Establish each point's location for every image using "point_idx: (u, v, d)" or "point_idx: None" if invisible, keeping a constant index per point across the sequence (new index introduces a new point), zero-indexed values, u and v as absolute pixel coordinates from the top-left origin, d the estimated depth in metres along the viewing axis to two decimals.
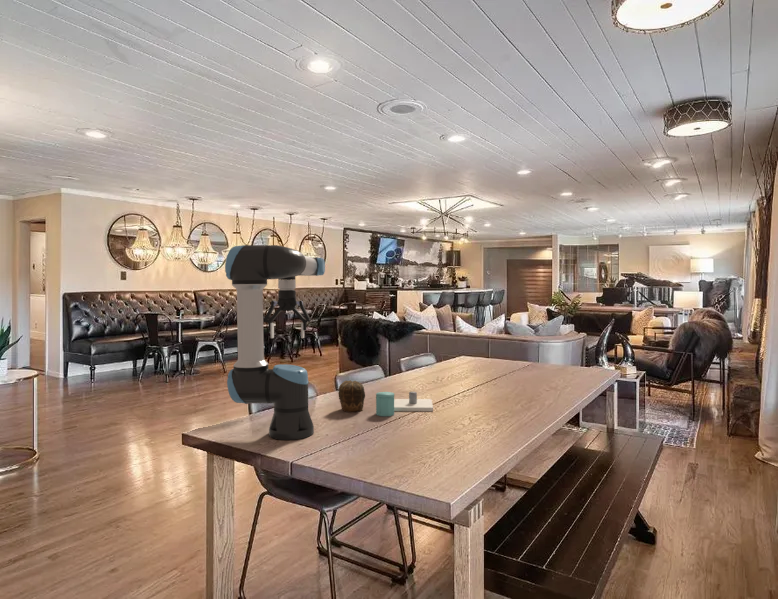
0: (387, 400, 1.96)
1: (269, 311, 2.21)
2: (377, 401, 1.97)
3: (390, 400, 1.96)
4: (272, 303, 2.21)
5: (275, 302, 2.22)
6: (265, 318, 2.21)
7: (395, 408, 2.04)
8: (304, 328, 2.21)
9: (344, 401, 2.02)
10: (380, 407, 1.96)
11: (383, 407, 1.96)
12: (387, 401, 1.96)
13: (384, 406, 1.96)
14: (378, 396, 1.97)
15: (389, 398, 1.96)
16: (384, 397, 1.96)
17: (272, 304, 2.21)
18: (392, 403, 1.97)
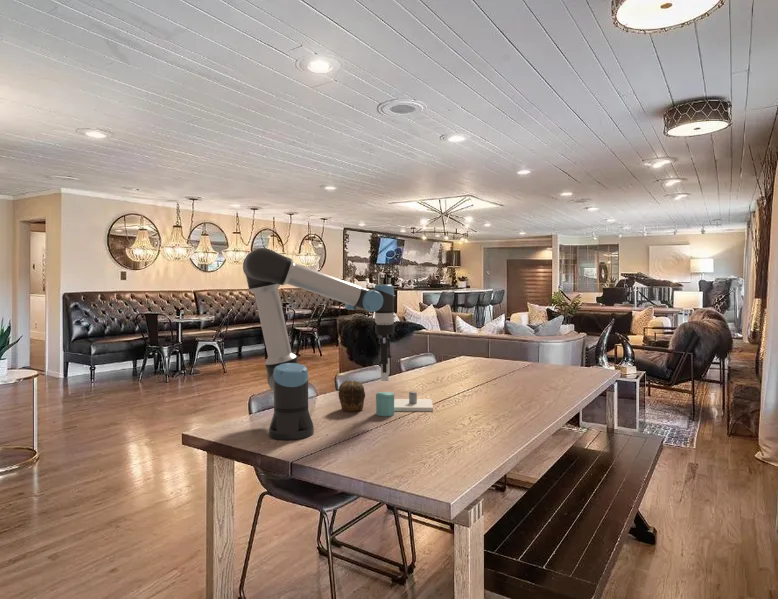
0: (387, 400, 1.96)
1: None
2: (377, 401, 1.97)
3: (390, 400, 1.96)
4: None
5: None
6: None
7: (395, 408, 2.04)
8: (382, 370, 1.91)
9: (344, 401, 2.02)
10: (380, 407, 1.96)
11: (383, 407, 1.96)
12: (387, 401, 1.96)
13: (384, 406, 1.96)
14: (378, 396, 1.97)
15: (389, 398, 1.96)
16: (384, 397, 1.96)
17: None
18: (392, 403, 1.97)
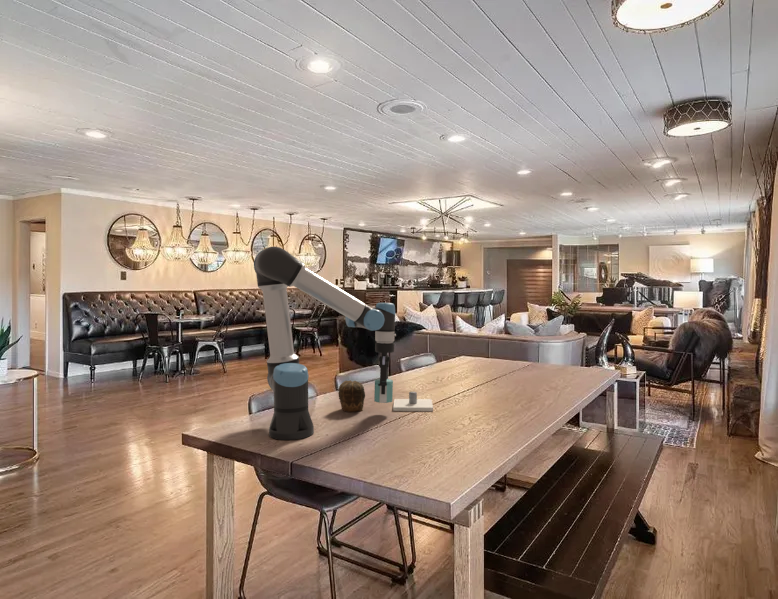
0: None
1: None
2: (375, 387, 1.97)
3: (388, 386, 1.96)
4: None
5: None
6: None
7: (395, 408, 2.04)
8: (381, 391, 1.94)
9: (344, 401, 2.02)
10: (378, 393, 1.96)
11: None
12: None
13: None
14: (377, 382, 1.96)
15: (388, 385, 1.96)
16: None
17: None
18: (390, 390, 1.97)
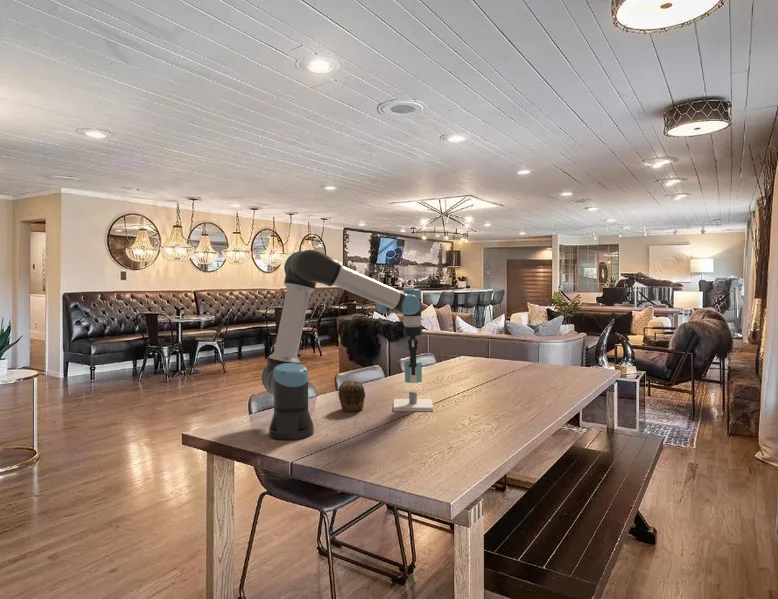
0: None
1: None
2: (406, 369, 2.09)
3: (418, 367, 2.07)
4: None
5: None
6: None
7: (395, 408, 2.04)
8: (411, 372, 2.06)
9: (344, 401, 2.02)
10: (409, 374, 2.07)
11: None
12: None
13: None
14: (407, 364, 2.08)
15: (417, 366, 2.07)
16: None
17: None
18: (420, 370, 2.08)
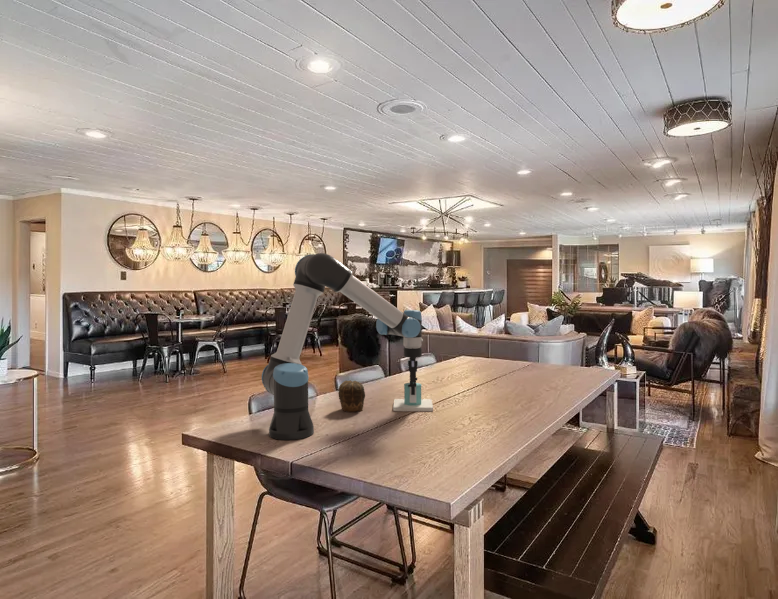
0: None
1: None
2: (405, 391, 2.08)
3: (417, 390, 2.07)
4: None
5: None
6: None
7: (395, 408, 2.04)
8: (411, 392, 2.04)
9: (344, 401, 2.02)
10: (408, 397, 2.07)
11: None
12: None
13: None
14: (406, 386, 2.08)
15: (417, 388, 2.07)
16: None
17: None
18: (419, 393, 2.08)
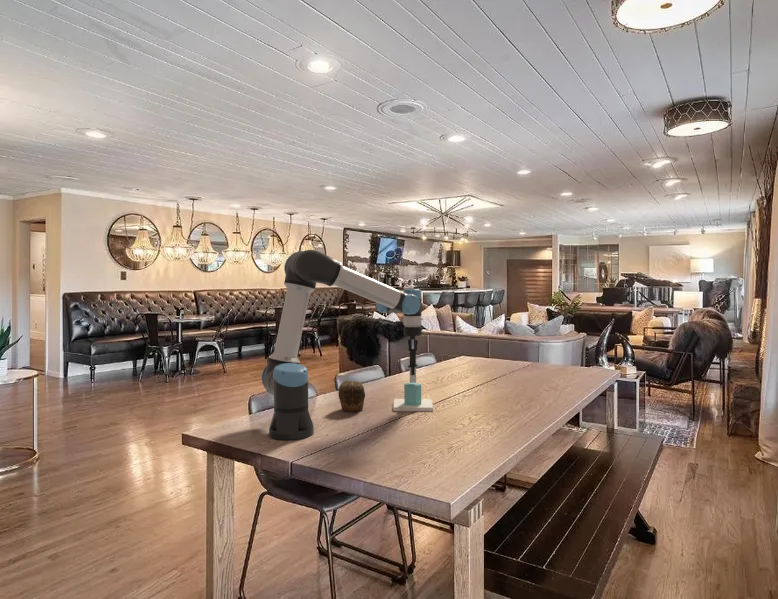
0: (415, 390, 2.06)
1: None
2: (405, 391, 2.08)
3: (417, 390, 2.07)
4: None
5: None
6: None
7: (395, 408, 2.04)
8: (411, 372, 2.09)
9: (344, 401, 2.02)
10: (408, 397, 2.07)
11: (411, 397, 2.07)
12: (415, 391, 2.06)
13: (412, 396, 2.07)
14: (406, 386, 2.08)
15: (417, 388, 2.07)
16: (412, 387, 2.06)
17: None
18: (419, 393, 2.08)
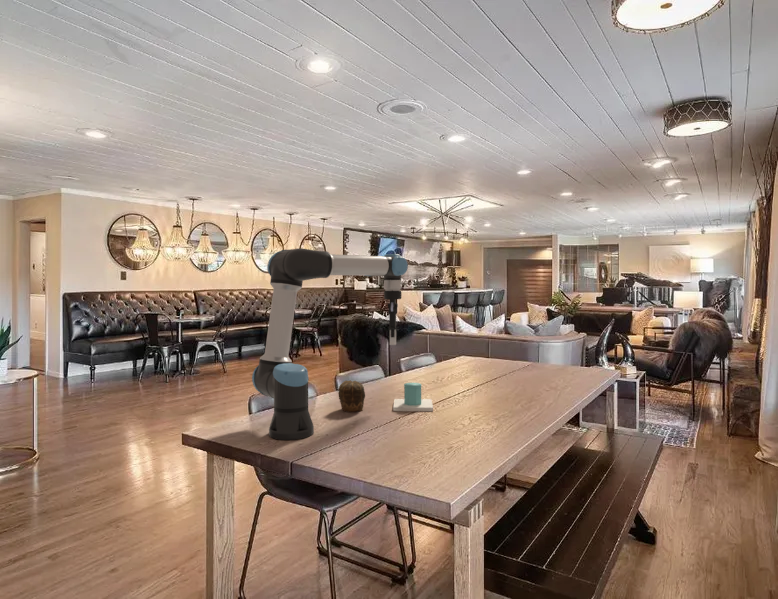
0: (415, 390, 2.06)
1: None
2: (405, 391, 2.08)
3: (417, 390, 2.07)
4: None
5: None
6: None
7: (395, 408, 2.04)
8: (391, 335, 2.17)
9: (344, 401, 2.02)
10: (408, 397, 2.07)
11: (411, 397, 2.07)
12: (415, 391, 2.06)
13: (412, 396, 2.07)
14: (406, 386, 2.08)
15: (417, 388, 2.07)
16: (412, 387, 2.06)
17: None
18: (419, 393, 2.08)
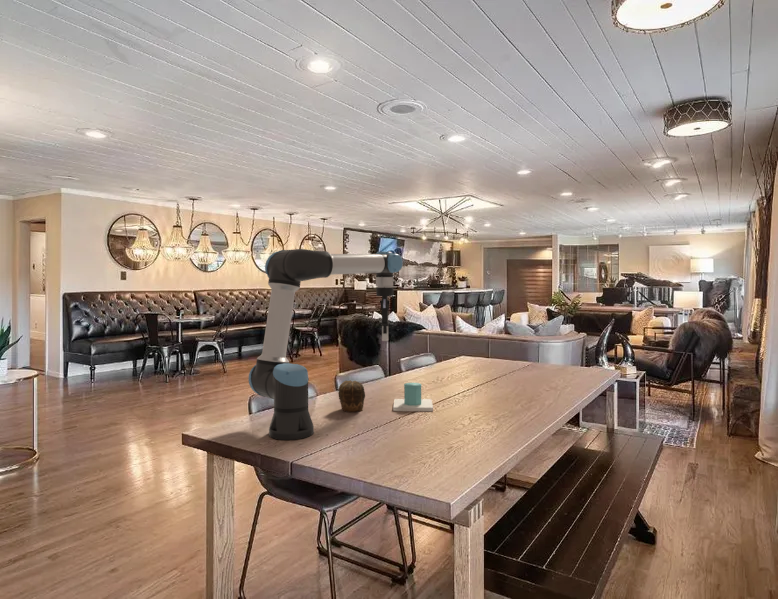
0: (415, 390, 2.06)
1: None
2: (405, 391, 2.08)
3: (417, 390, 2.07)
4: None
5: None
6: None
7: (395, 408, 2.04)
8: (383, 331, 2.20)
9: (344, 401, 2.02)
10: (408, 397, 2.07)
11: (411, 397, 2.07)
12: (415, 391, 2.06)
13: (412, 396, 2.07)
14: (406, 386, 2.08)
15: (417, 388, 2.07)
16: (412, 387, 2.06)
17: None
18: (419, 393, 2.08)
